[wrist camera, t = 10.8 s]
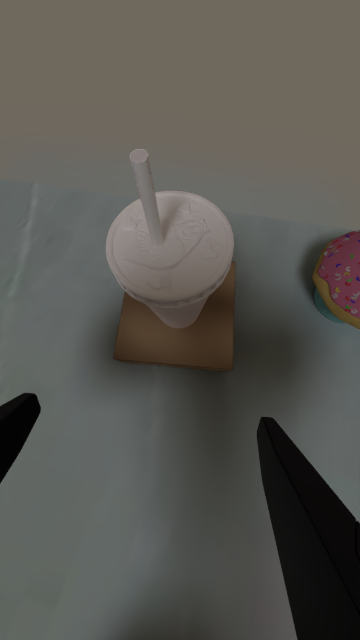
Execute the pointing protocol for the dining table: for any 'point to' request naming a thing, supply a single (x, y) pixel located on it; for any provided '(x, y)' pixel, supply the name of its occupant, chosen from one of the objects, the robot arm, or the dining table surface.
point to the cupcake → (339, 280)
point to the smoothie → (169, 248)
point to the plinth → (180, 334)
